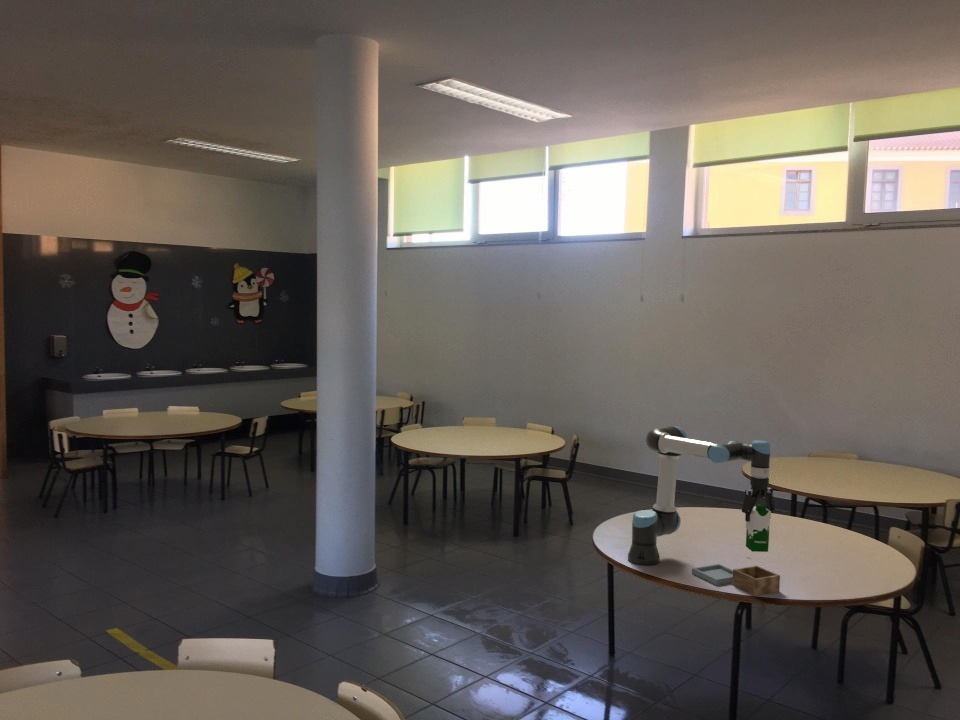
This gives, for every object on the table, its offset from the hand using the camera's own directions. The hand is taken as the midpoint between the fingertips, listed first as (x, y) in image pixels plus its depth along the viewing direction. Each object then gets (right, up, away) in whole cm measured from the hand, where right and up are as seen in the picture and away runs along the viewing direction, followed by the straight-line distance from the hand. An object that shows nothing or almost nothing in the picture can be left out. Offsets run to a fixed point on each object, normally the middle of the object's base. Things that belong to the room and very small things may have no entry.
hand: (757, 527), depth 312 cm
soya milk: (0, -10, +1) cm, 10 cm away
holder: (0, -27, +1) cm, 27 cm away
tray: (-13, -26, +15) cm, 32 cm away
